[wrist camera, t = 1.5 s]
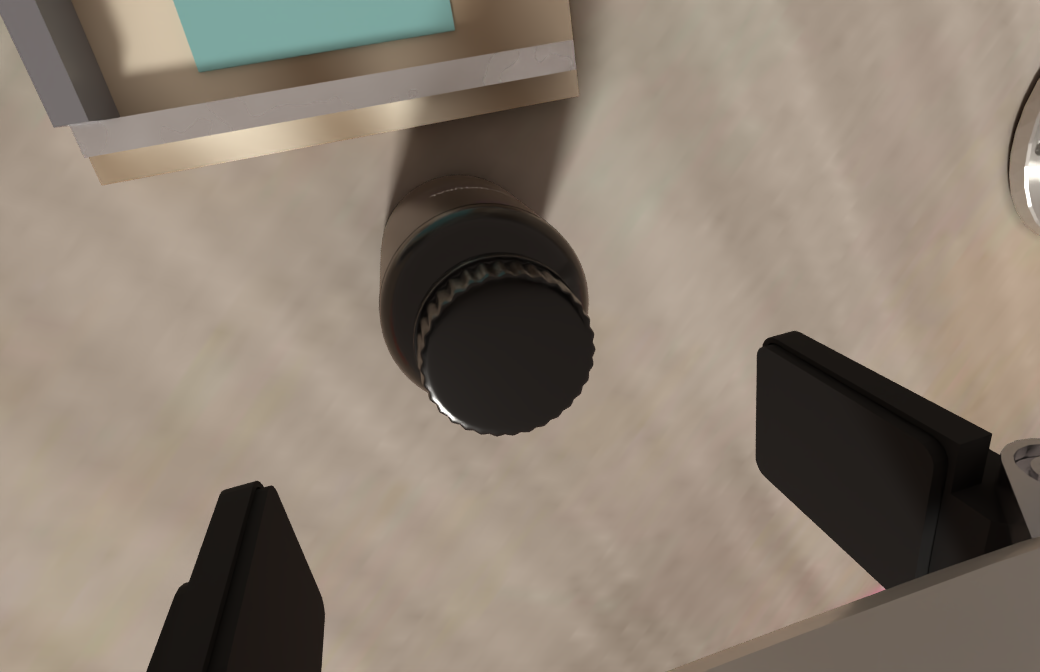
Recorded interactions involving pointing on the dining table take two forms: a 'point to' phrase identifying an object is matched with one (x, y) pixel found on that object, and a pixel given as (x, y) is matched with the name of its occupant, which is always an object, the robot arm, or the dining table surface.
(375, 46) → the board
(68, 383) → the dining table surface
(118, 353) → the dining table surface
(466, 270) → the supplement bottle
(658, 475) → the dining table surface
